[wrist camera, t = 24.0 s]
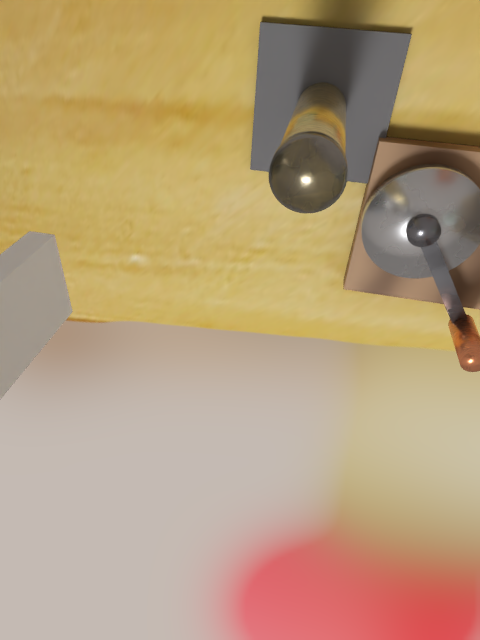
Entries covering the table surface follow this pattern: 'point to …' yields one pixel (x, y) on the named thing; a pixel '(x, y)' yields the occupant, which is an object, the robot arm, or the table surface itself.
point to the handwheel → (428, 237)
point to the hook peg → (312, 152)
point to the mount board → (390, 157)
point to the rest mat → (331, 67)
